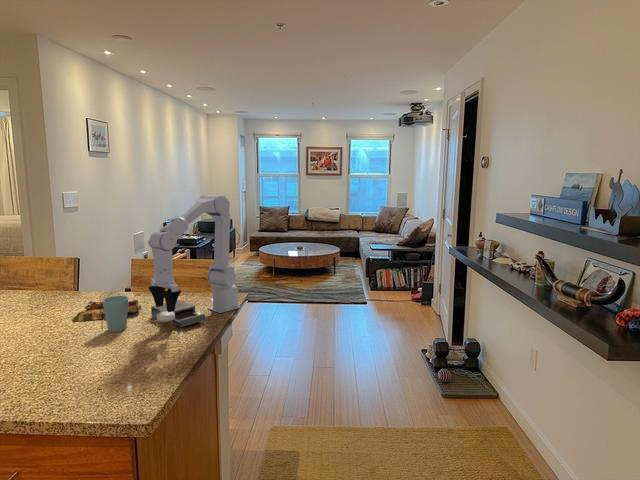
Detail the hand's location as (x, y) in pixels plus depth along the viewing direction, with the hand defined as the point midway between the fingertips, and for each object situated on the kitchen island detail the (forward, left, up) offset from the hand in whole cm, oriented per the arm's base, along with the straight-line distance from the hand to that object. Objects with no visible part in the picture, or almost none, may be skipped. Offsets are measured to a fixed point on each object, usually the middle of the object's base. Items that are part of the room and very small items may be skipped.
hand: (165, 308), depth 133 cm
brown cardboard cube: (0, 0, -7) cm, 7 cm away
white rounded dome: (0, 0, -3) cm, 3 cm away
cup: (+10, -13, -8) cm, 18 cm away
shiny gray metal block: (-8, -10, -7) cm, 15 cm away
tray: (-8, -1, -6) cm, 10 cm away
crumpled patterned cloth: (+5, -32, -8) cm, 33 cm away
